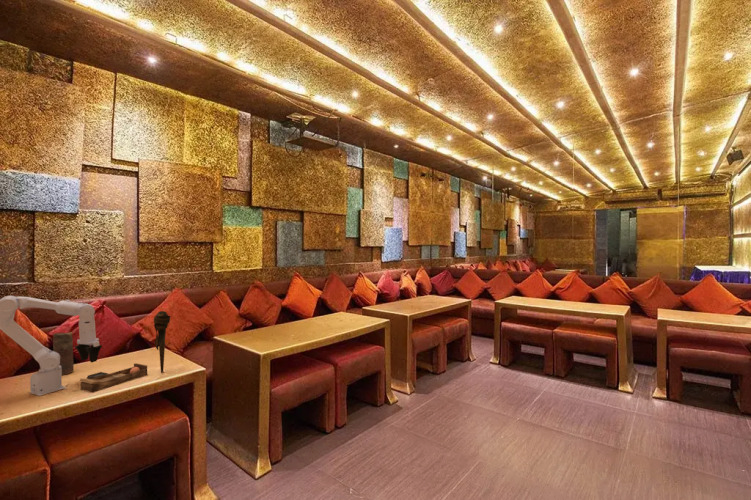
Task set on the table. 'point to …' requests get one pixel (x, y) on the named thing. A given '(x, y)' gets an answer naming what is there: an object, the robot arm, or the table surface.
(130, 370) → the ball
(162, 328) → the decorative torch
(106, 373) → the grey square tray
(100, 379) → the lane
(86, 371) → the table surface
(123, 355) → the table surface
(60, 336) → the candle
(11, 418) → the table surface
